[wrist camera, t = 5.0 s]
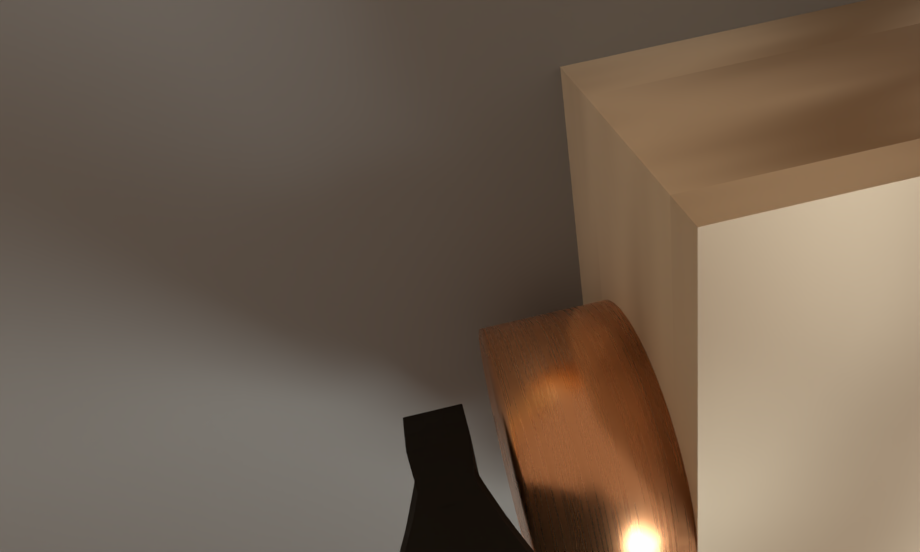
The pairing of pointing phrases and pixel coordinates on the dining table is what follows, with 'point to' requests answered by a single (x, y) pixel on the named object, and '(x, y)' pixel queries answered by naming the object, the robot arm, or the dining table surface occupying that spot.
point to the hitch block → (769, 264)
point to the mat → (277, 251)
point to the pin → (586, 434)
